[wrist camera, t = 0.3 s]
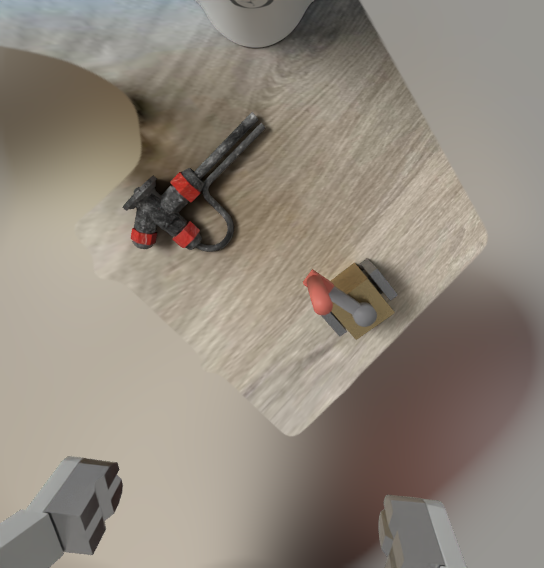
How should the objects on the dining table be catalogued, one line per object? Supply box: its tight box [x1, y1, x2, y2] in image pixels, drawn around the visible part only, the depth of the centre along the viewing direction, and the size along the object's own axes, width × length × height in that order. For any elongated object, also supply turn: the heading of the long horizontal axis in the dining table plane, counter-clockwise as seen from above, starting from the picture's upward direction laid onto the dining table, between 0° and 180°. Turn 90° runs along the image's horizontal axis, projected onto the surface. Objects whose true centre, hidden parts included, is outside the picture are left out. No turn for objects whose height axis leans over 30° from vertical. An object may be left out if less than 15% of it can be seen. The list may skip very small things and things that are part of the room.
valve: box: [123, 112, 265, 252], centre depth 50 cm, size 6×26×15 cm
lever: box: [303, 269, 377, 327], centre depth 43 cm, size 12×3×9 cm, turn 55°
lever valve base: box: [321, 258, 397, 340], centre depth 53 cm, size 11×7×8 cm, turn 131°
